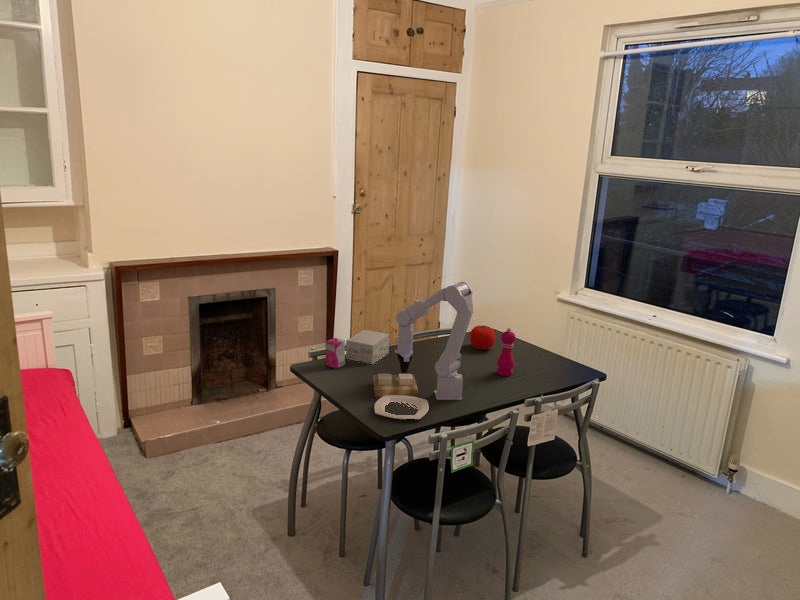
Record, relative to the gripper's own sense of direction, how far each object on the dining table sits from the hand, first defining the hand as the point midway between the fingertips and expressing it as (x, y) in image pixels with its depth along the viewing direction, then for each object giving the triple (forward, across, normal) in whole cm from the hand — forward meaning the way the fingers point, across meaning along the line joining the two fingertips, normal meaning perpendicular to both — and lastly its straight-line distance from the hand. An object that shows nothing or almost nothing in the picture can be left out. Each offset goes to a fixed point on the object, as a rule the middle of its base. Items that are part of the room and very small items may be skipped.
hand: (403, 372), depth 235 cm
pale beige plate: (+5, +24, -3) cm, 25 cm away
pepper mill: (+5, -11, +44) cm, 46 cm away
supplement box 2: (+5, -30, -13) cm, 33 cm away
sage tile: (+1, +7, -8) cm, 11 cm away
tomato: (+5, -42, +41) cm, 59 cm away
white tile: (+1, +7, 0) cm, 7 cm away
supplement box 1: (+5, -18, -27) cm, 33 cm away
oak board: (+5, +7, -4) cm, 9 cm away
